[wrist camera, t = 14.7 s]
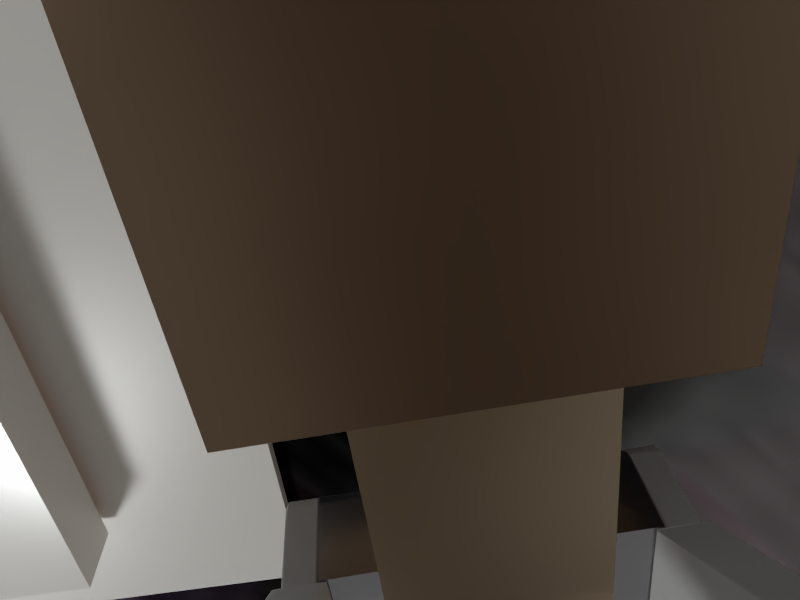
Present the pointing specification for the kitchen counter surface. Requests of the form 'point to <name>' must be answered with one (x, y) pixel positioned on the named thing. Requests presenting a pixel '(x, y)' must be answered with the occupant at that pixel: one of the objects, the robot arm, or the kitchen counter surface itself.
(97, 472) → the mat
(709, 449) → the kitchen counter surface
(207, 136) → the wooden mallet
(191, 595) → the kitchen counter surface
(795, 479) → the kitchen counter surface
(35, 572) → the tile
